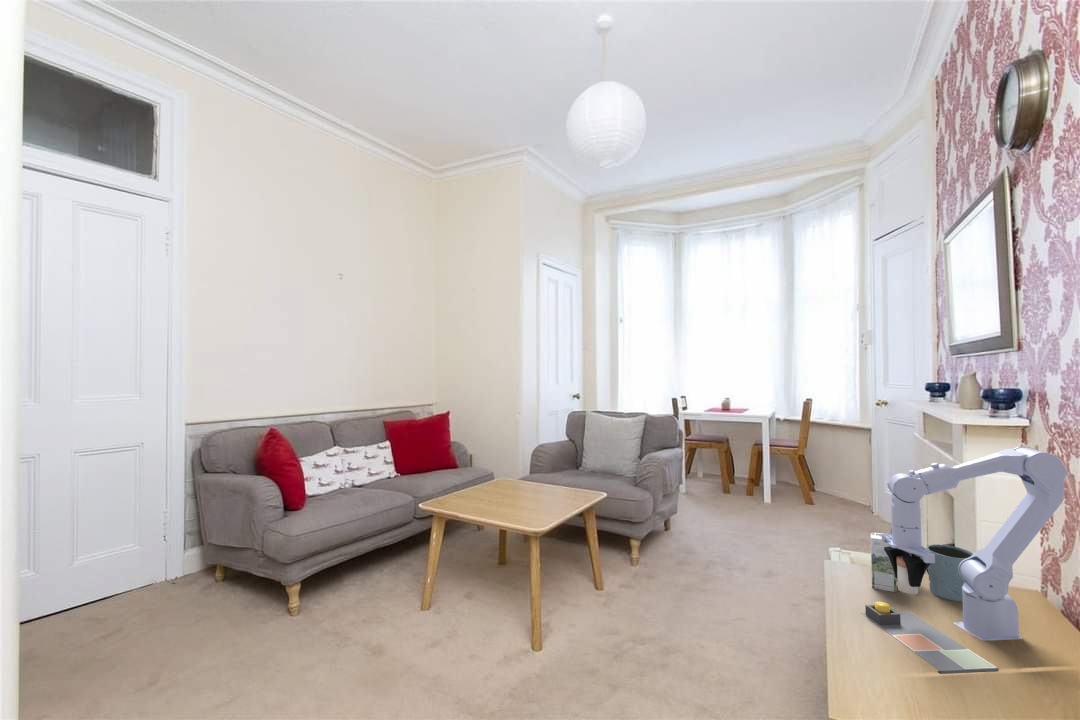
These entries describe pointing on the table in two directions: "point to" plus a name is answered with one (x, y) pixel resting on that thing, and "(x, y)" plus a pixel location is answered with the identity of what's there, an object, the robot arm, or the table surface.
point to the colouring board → (935, 646)
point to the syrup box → (881, 565)
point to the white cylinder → (904, 578)
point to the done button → (882, 607)
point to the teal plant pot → (946, 571)
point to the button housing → (883, 616)
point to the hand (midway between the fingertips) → (907, 582)
